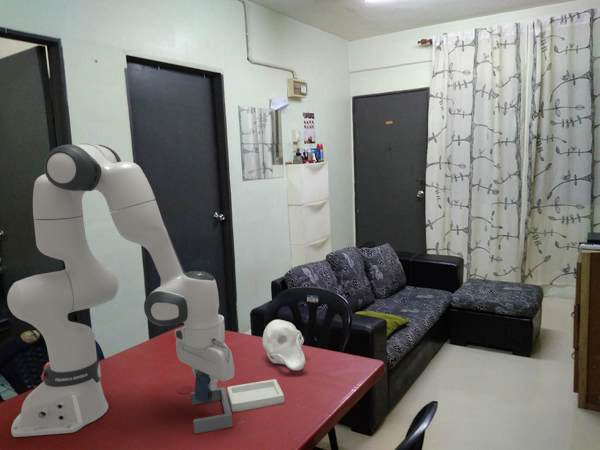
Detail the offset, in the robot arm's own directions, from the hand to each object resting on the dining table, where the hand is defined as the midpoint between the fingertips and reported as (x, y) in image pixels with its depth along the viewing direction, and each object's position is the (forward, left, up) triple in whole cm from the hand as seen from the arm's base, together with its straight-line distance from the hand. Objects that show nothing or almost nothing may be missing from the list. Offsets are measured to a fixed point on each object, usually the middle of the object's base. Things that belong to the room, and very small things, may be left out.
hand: (206, 385), depth 118 cm
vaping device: (-1, +1, -4) cm, 5 cm away
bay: (0, 0, -8) cm, 8 cm away
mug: (+3, +39, -8) cm, 40 cm away
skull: (+26, +23, -8) cm, 35 cm away
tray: (+13, +4, -8) cm, 16 cm away
